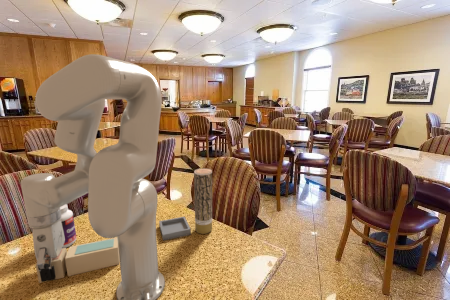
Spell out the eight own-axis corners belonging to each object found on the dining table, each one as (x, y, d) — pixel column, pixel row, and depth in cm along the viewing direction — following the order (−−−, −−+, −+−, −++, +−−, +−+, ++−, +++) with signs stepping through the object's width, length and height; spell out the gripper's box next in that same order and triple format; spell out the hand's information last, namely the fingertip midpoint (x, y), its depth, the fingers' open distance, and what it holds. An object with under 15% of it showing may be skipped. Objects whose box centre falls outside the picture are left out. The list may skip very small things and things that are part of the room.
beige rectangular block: (119, 264, 74) (117, 246, 72) (67, 276, 68) (64, 258, 67) (119, 252, 79) (118, 236, 78) (71, 263, 74) (68, 246, 73)
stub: (63, 277, 68) (60, 259, 67) (39, 283, 66) (35, 264, 65) (68, 264, 74) (65, 247, 72) (45, 269, 71) (42, 251, 70)
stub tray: (190, 234, 90) (190, 229, 90) (163, 240, 86) (162, 234, 86) (184, 221, 100) (184, 216, 99) (159, 226, 96) (159, 221, 95)
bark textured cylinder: (214, 232, 92) (214, 172, 86) (197, 236, 89) (196, 174, 84) (209, 224, 98) (208, 167, 93) (193, 227, 95) (192, 169, 90)
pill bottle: (73, 248, 81) (67, 210, 78) (46, 252, 79) (39, 214, 76) (79, 235, 89) (74, 200, 86) (55, 239, 86) (49, 203, 83)
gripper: (51, 229, 59) (61, 286, 63) (67, 202, 75) (74, 248, 79) (14, 235, 57) (27, 294, 60) (39, 206, 72) (47, 254, 76)
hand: (53, 268), depth 69 cm, fingers open, 9 cm apart
